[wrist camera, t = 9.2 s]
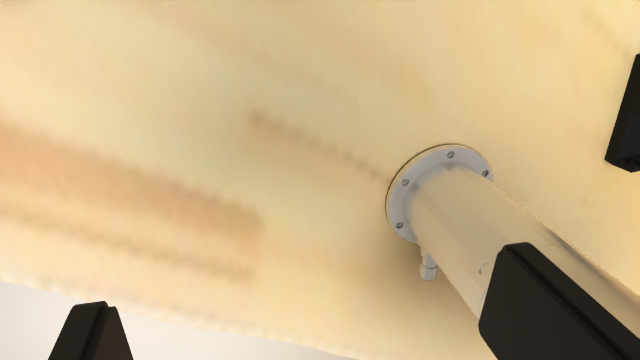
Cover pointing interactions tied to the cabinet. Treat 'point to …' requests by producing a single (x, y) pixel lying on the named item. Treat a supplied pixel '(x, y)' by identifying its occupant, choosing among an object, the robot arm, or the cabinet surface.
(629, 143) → the battery charger
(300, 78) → the cabinet surface
